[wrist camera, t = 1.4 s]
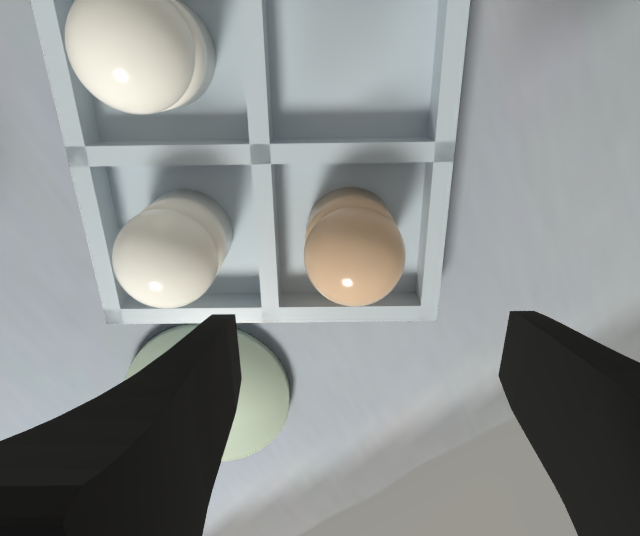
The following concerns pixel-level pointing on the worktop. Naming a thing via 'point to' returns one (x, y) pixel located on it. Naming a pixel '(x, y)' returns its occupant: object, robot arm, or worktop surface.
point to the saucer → (255, 391)
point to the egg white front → (140, 53)
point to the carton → (279, 147)
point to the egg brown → (353, 247)
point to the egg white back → (172, 249)
